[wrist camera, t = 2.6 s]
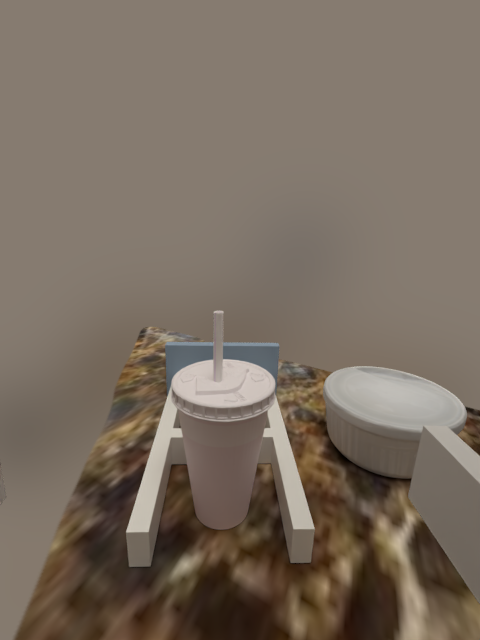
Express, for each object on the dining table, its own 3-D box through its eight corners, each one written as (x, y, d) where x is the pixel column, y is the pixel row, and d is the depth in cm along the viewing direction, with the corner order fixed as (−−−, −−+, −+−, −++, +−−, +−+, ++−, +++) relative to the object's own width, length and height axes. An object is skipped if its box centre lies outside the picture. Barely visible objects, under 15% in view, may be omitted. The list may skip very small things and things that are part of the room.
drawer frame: (274, 392, 39) (277, 343, 38) (324, 562, 20) (335, 477, 18) (168, 392, 39) (166, 341, 37) (114, 567, 19) (105, 479, 18)
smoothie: (154, 511, 23) (143, 310, 19) (217, 461, 28) (220, 292, 24) (227, 571, 19) (233, 336, 15) (285, 501, 24) (302, 309, 20)
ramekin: (435, 422, 35) (446, 374, 33) (474, 507, 24) (492, 444, 23) (322, 403, 38) (327, 358, 36) (313, 472, 27) (320, 414, 26)
